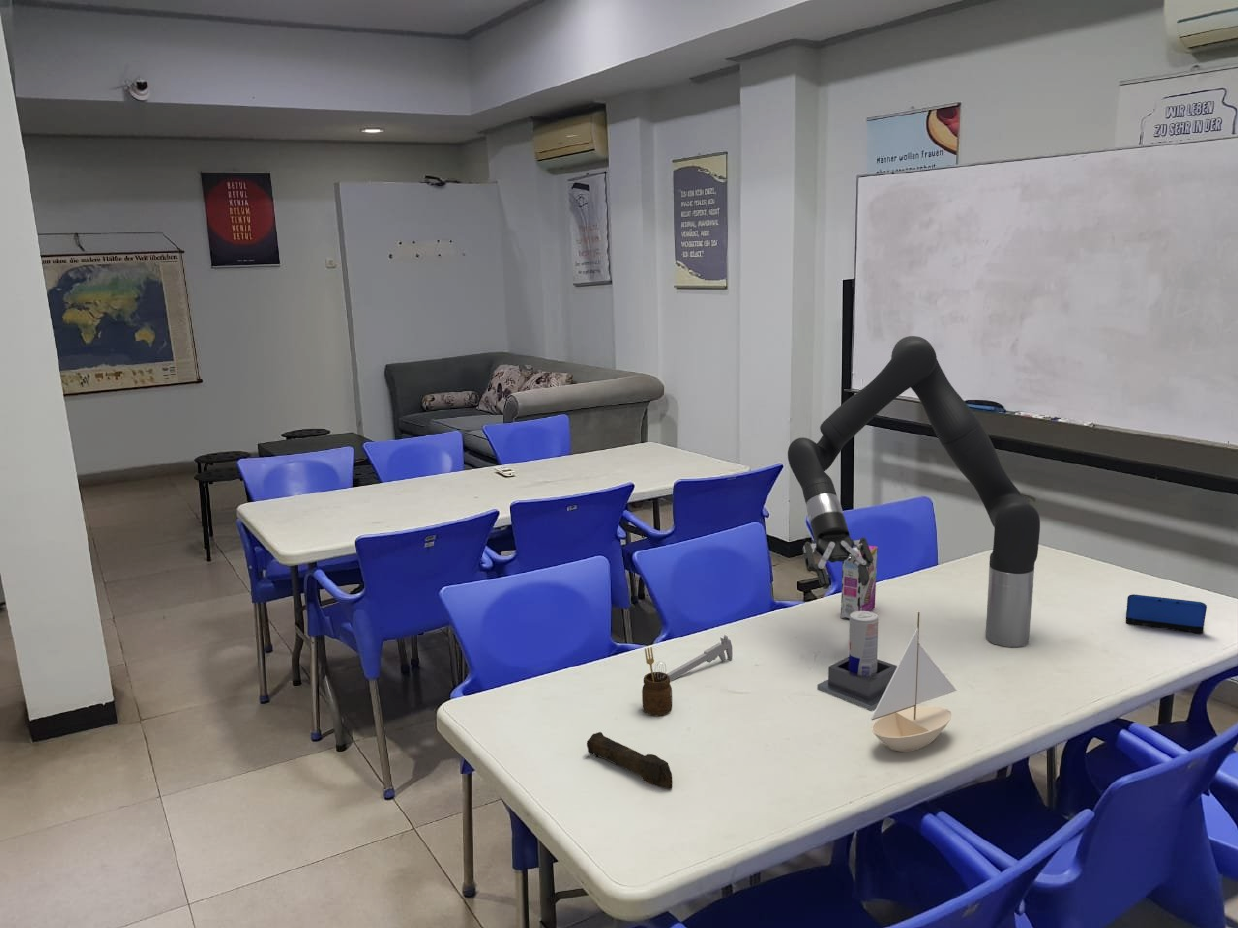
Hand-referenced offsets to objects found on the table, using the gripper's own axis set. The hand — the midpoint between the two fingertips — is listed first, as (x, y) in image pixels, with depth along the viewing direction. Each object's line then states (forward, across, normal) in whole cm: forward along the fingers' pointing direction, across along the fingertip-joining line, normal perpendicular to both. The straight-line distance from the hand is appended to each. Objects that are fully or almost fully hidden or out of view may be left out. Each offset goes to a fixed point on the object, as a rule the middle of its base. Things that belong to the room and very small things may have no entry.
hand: (846, 585), depth 195 cm
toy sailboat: (+36, 0, -9) cm, 37 cm away
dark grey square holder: (+20, 0, +6) cm, 21 cm away
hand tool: (+35, -51, -7) cm, 62 cm away
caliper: (+10, -32, +18) cm, 37 cm away
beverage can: (+20, 0, +6) cm, 20 cm away
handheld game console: (+10, +80, +18) cm, 83 cm away
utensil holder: (+20, -43, +7) cm, 48 cm away
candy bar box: (-7, +16, +34) cm, 38 cm away
